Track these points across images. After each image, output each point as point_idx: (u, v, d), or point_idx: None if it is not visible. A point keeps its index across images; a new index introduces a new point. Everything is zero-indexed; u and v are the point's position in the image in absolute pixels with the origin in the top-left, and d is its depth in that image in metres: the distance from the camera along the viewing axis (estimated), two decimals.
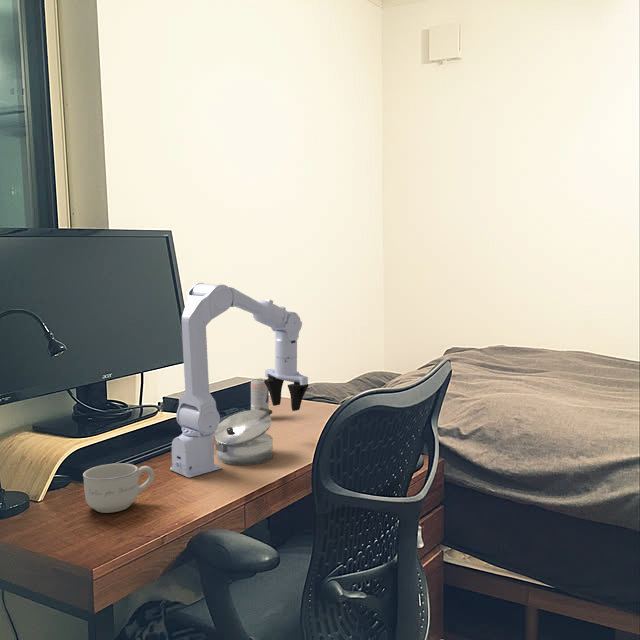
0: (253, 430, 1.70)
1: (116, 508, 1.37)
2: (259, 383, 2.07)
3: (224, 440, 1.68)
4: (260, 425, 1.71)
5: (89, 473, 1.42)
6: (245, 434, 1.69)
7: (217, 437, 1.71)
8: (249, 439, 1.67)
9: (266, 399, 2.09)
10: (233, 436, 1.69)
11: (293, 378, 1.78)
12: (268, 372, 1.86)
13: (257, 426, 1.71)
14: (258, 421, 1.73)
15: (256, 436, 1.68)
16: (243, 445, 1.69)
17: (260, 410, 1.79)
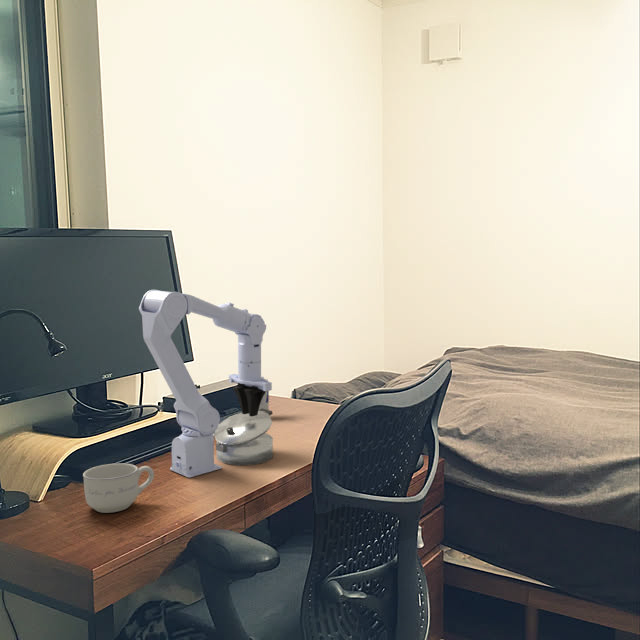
0: (253, 431, 1.70)
1: (116, 508, 1.37)
2: None
3: (224, 440, 1.68)
4: (260, 426, 1.71)
5: (89, 473, 1.42)
6: (245, 434, 1.69)
7: (217, 437, 1.71)
8: (249, 439, 1.67)
9: (266, 399, 2.09)
10: (233, 436, 1.69)
11: (256, 384, 1.70)
12: (231, 377, 1.77)
13: (257, 426, 1.71)
14: (259, 421, 1.73)
15: (256, 436, 1.68)
16: (243, 445, 1.69)
17: (260, 411, 1.79)
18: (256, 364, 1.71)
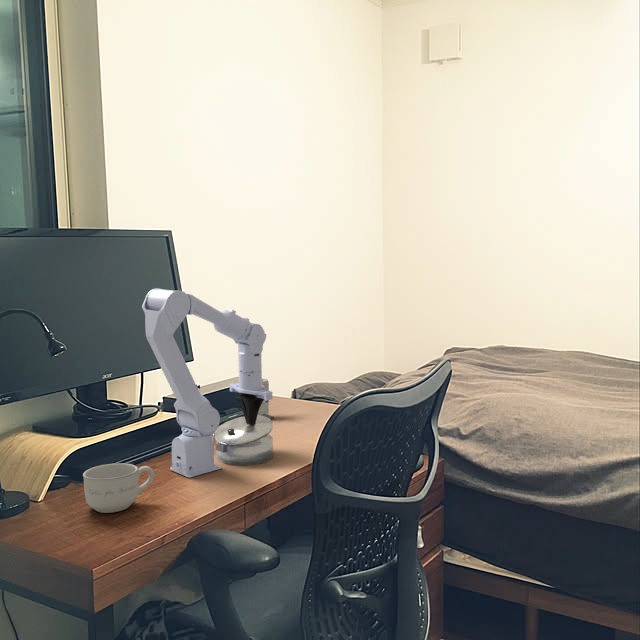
0: (254, 433, 1.70)
1: (116, 508, 1.37)
2: None
3: (225, 440, 1.68)
4: (261, 429, 1.72)
5: (89, 473, 1.42)
6: (246, 435, 1.69)
7: (217, 437, 1.71)
8: (250, 441, 1.67)
9: None
10: (234, 437, 1.70)
11: (257, 393, 1.70)
12: (232, 386, 1.78)
13: (258, 429, 1.72)
14: (260, 425, 1.74)
15: (257, 438, 1.68)
16: (243, 445, 1.69)
17: (262, 416, 1.79)
18: (256, 373, 1.72)
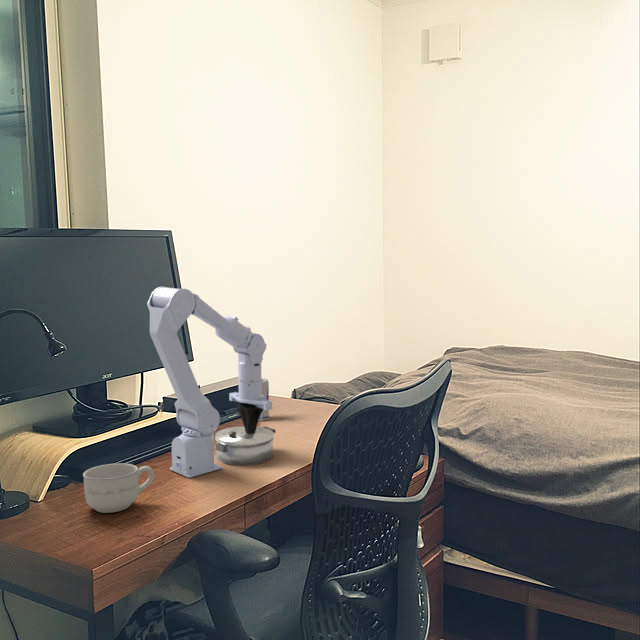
0: (255, 439, 1.70)
1: (116, 508, 1.37)
2: None
3: (226, 440, 1.69)
4: (263, 436, 1.72)
5: (89, 473, 1.42)
6: (247, 439, 1.70)
7: (218, 437, 1.71)
8: (250, 444, 1.68)
9: None
10: (235, 439, 1.70)
11: (257, 403, 1.70)
12: (232, 396, 1.78)
13: (260, 437, 1.72)
14: (261, 434, 1.75)
15: (258, 443, 1.68)
16: None
17: (264, 428, 1.80)
18: (256, 383, 1.72)
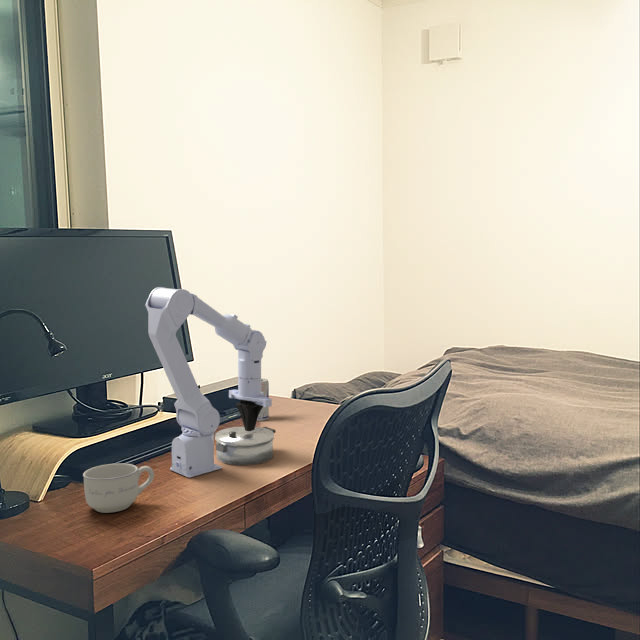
0: (255, 439, 1.70)
1: (116, 508, 1.37)
2: None
3: (226, 440, 1.69)
4: (263, 436, 1.72)
5: (89, 473, 1.42)
6: (247, 439, 1.70)
7: (218, 437, 1.71)
8: (250, 444, 1.68)
9: None
10: (235, 439, 1.70)
11: (256, 400, 1.70)
12: (231, 393, 1.78)
13: (260, 437, 1.72)
14: (261, 434, 1.75)
15: (258, 443, 1.68)
16: None
17: (264, 428, 1.80)
18: (256, 380, 1.72)
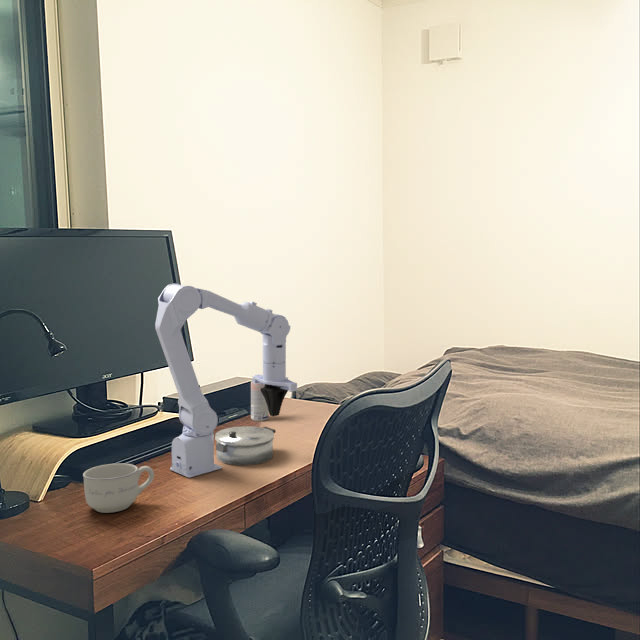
0: (255, 439, 1.70)
1: (116, 508, 1.37)
2: None
3: (226, 440, 1.69)
4: (263, 436, 1.72)
5: (89, 473, 1.42)
6: (247, 439, 1.70)
7: (218, 437, 1.71)
8: (250, 444, 1.68)
9: None
10: (235, 439, 1.70)
11: (281, 384, 1.69)
12: (255, 378, 1.77)
13: (260, 437, 1.72)
14: (261, 434, 1.75)
15: (258, 443, 1.68)
16: None
17: (264, 428, 1.80)
18: (281, 365, 1.71)
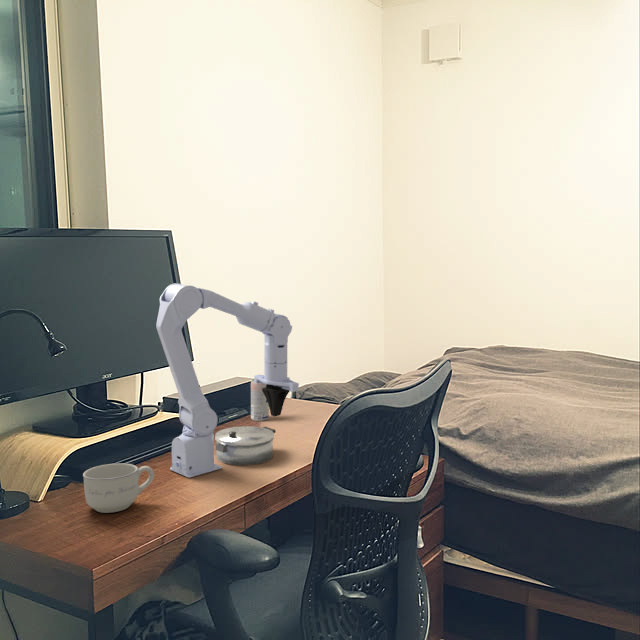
0: (255, 439, 1.70)
1: (116, 508, 1.37)
2: (259, 383, 2.07)
3: (226, 440, 1.69)
4: (263, 436, 1.72)
5: (89, 473, 1.42)
6: (247, 439, 1.70)
7: (218, 437, 1.71)
8: (250, 444, 1.68)
9: (266, 399, 2.09)
10: (235, 439, 1.70)
11: (283, 384, 1.69)
12: (257, 378, 1.77)
13: (260, 437, 1.72)
14: (261, 434, 1.75)
15: (258, 443, 1.68)
16: None
17: (264, 428, 1.80)
18: (283, 365, 1.71)
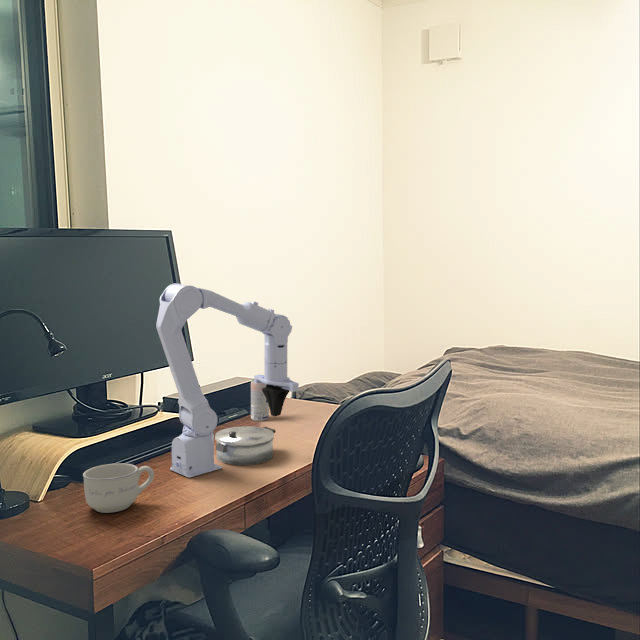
0: (255, 439, 1.70)
1: (116, 508, 1.37)
2: (259, 383, 2.07)
3: (226, 440, 1.69)
4: (263, 436, 1.72)
5: (89, 473, 1.42)
6: (247, 439, 1.70)
7: (218, 437, 1.71)
8: (250, 444, 1.68)
9: (266, 399, 2.09)
10: (235, 439, 1.70)
11: (283, 384, 1.69)
12: (257, 378, 1.77)
13: (260, 437, 1.72)
14: (261, 434, 1.75)
15: (258, 443, 1.68)
16: None
17: (264, 428, 1.80)
18: (283, 365, 1.71)
